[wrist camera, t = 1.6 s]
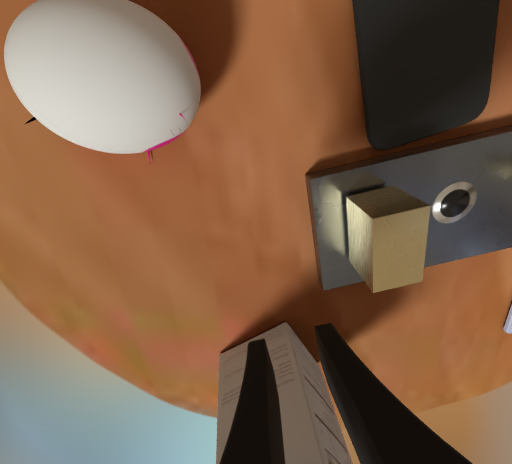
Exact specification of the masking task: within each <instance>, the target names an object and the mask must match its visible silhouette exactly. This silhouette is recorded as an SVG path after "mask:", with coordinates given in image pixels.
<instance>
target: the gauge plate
mask: <svg viewBox="0 0 512 464" xmlns="http://www.w3.org/2000/svg"><path fill="white" fill-rule="evenodd" d="M305 177H306V185H307V193H308V201H309V208H310V216H311V224H312V232H313V239H314V247H315V255H316V263H317V270H318V278H319V282H320V284H321V286H322V288H323V290H324V291H325V290H329V289H333V288H338V287H342V286H346V285H351V284H355V283H359V282H364V280H363V279H362V278H361V276H360V275H359V273H358V272H357V271H356V269H355V268H354V267H353V265H352V264H351V263H350V259H349V241H348V223H347V205H346V197H347V196H352V195H356V194H360V193H364V192H368V191H373V190H377V189H381V188H385V187H389V186H395V187H397V188H399V189H401V190H402V191H404V192H406V193H408V194H410V195H412V196H414V197H416V198H417V199H419V200H421V201H423V202H425V203H427V204H429V205H431V207H430V216H429V225H428V234H427V244H426V253H425V262H424V267H428V266H433V265H437V264H441V263H445V262H450V261H454V260H458V259H463V258H467V257H471V256H476V255H480V254H484V253H489V252H493V251H497V250H502V249H506V248H510V247H512V125H510V126H506V127H502V128H497V129H493V130H489V131H485V132H481V133H476V134H472V135H468V136H464V137H460V138H456V139H451V140H447V141H443V142H439V143H435V144H431V145H426V146H422V147H418V148H414V149H410V150H405V151H401V152H397V153H393V154H389V155H385V156H380V157H376V158H372V159H368V160H364V161H360V162H355V163H351V164H347V165H343V166H339V167H335V168H330V169H326V170H322V171H318V172H314V173H309V174H305Z"/></svg>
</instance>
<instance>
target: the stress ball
mask: <svg viewBox="0 0 512 464" xmlns="http://www.w3.org/2000/svg"><path fill="white" fill-rule="evenodd" d="M4 60H5V68H6V71H7V75H8V78H9V81H10V83H11V85H12V88H13V90H14V91H15V93H16V95H17V96H18V98H19V100H20V101H21V102H22V104H23V105H24V106H25V108H26V109H27V110H28V111H29V112H30V113H31V114H32V115H33V116H34V117H33V118H32V119H30V120H29V121H28V122H27V123H29V122H31V121H34V120H36V119H37V120H38V121H39V122H41V123H42V124H43V125H44V126H46V127H47V128H48V129H50V130H51V131H53V132H54V133H56V134H57V135H59V136H61V137H63V138H65V139H66V140H69V141H71V142H73V143H75V144H78V145H80V146H83V147H86V148H89V149H93V150H97V151H102V152H108V153H118V154H130V153H140V152H145V151H147V153H148V157H149V160H150V156H149V151H150V150H153V149H156V148H159V147H162V146H164V145H166V144H168V143H170V142H171V141H173V140H175V139H176V138H177V137H179V136H180V135H181V134H182V133H183V132H184V131H185V130H186V129H187V128H188V126H189V125H190V124H191V122H192V121H193V119H194V117H195V115H196V112H197V110H198V107H199V102H200V96H201V86H200V77H199V73H198V69H197V66H196V64H195V61H194V59H193V57H192V55H191V53H190V51H189V50H188V48H187V47H186V45H185V44H184V42H183V41H182V39H181V38H180V37H179V36H178V35H177V33H176V32H175V31H174V30H173V29H172V28H171V27H170V26H169V25H167V24H166V23H165V22H164V21H163V20H161V19H160V18H159V17H157V16H156V15H155V14H153V13H152V12H150V11H149V10H147V9H145V8H143V7H142V6H140V5H138V4H135V3H133V2H131V1H129V0H38V1H36V2H34V3H33V4H31V5H30V6H28V7H27V8H26V9H25V10H24V11H22V12H21V13H20V14H19V16H18V17H17V18H16V19H15V21H14V22H13V24H12V25H11V27H10V29H9V31H8V34H7V37H6V41H5V47H4ZM25 124H26V123H25ZM150 164H151V163H150Z"/></svg>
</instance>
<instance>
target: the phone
mask: <svg viewBox="0 0 512 464" xmlns="http://www.w3.org/2000/svg"><path fill="white" fill-rule="evenodd" d="M352 2H353V11H354V20H355V30H356V39H357V48H358V58H359V67H360V76H361V86H362V95H363V104H364V114H365V123H366V132H367V137H368V140H369V143H370V144H371V145H372V146H373V147H375V148H377V149H380V150H387V149H391V148H395V147H398V146H401V145H404V144H407V143H410V142H413V141H416V140H419V139H422V138H425V137H428V136H431V135H434V134H437V133H440V132H443V131H445V130H448V129H451V128H454V127H457V126H460V125H463V124H466V123H468V122H470V121H472V120H474V119H475V118H477V117H478V116H479V115H480V114H481V113H482V111H483V110H484V108H485V106H486V104H487V101H488V97H489V91H490V82H491V73H492V64H493V54H494V45H495V36H496V26H497V17H498V7H499V0H352Z"/></svg>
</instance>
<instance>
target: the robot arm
mask: <svg viewBox="0 0 512 464" xmlns="http://www.w3.org/2000/svg"><path fill="white" fill-rule="evenodd" d="M315 330H316V337H317V343H318V350H319V356H320V361H321V364H322V367H323V371H324V374H325V377H326V380H327V383H328V386H329V389H330V391H331V393H332V396H333V398H334V401H335V403H336V405H337V408H338V410H339V413H340V415H341V417H342V420H343V422H344V425H345V427H346V429H347V431H348V434H349V436H350V439H351V441H352V444H353V446H354V448H355V451H356V453H357V456H358V458H359V461H360V463H361V464H472V463H471V462H470V461H469V460H467V459H466V458H465V457H464V456H462V455H461V454H460V453H459V452H458V451H456V450H455V449H454V448H453V447H451V446H450V445H449V444H448V443H446V442H445V441H444V440H442V439H441V438H440V437H439V436H438V435H437V434H436V433H435V432H433V431H432V430H431V429H430V428H429V427H428V426H427V425H425V424H424V423H423V422H422V421H421V420H420V419H419V418H418V417H417V416H415V415H414V414H413V413H412V412H411V411H410V410H409V409H408V408H407V407H406V406H405V405H403V404H402V403H401V402H400V401H399V400H398V399H397V398H396V397H395V396H394V395H393V394H392V393H391V392H390V391H389V390H388V389H387V388H386V387H385V386H384V385H383V384H382V383H381V382H380V381H379V380H378V379H377V378H376V377H375V375H374V374H373V373H372V372H371V371H370V370H369V369H368V368H367V367H366V366H365V364H364V363H363V362H362V361H361V360H360V359H359V358H358V357H357V355H356V354H355V353H354V352H353V351H352V350H351V348H350V347H349V346H348V345H347V343H346V342H345V341H344V340H343V338H342V337H341V336H340V334H339V333H338V332H337V330H336V329H335V327H334V326H333V325H332V324H330V323H329V324H324V325H320V326H316V327H315ZM504 331H505V332H507V333H512V304H511V307H510V310H509V314H508V317H507V320H506V323H505V326H504ZM219 464H285V454H284V444H283V434H282V423H281V413H280V403H279V395H278V390H277V384H276V379H275V374H274V369H273V365H272V362H271V359H270V355H269V352H268V348H267V345H266V341H265V338H263V339H259V340H255V341H250V342H249V343H248V348H247V358H246V365H245V371H244V376H243V381H242V386H241V390H240V395H239V399H238V403H237V407H236V411H235V414H234V418H233V422H232V425H231V429H230V432H229V436H228V439H227V442H226V445H225V448H224V451H223V454H222V457H221V460H220V463H219Z"/></svg>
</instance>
